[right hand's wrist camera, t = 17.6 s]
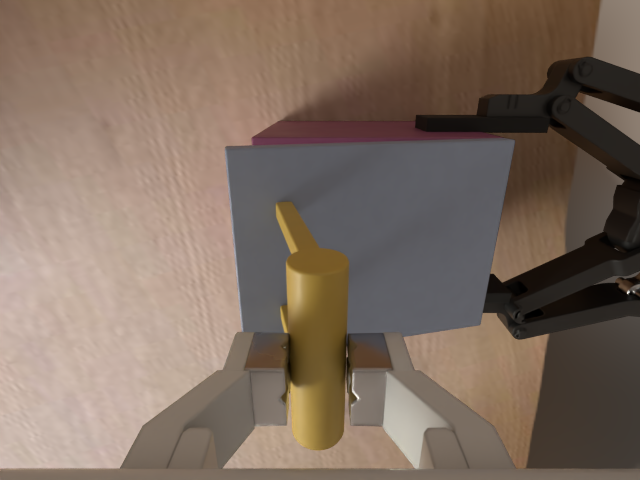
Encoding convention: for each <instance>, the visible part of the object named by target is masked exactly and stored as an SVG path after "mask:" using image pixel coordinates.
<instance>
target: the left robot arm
mask: <svg viewBox="0 0 640 480" xmlns="http://www.w3.org/2000/svg"><path fill="white" fill-rule="evenodd" d="M547 78H548V79H547V81H546V83H545V85H544V86H543V88H542V89H541V90H540V91H538V92H537V93H534V94H530V95H486V96H484V97H481V98H479V103H478V110H477V115H416V122H415V128H417V129H420V130H423V131H425V132H483V133H547V130H548V126H549V127H551V128H552V129H554V130H555V131H556V132H558V133H559V134H561V135H562V136H564V137H565V138H567V139H568V140H570V141H571V142H572V143H574V144H575V145H577V146H578V147H580V148H581V149H583V150H584V151H586V152H587V153H588V154H590V155H592V156H593V157H594V158H596V159H597V160H599V161H600V162H602V163H603V164H604V165H606V166H607V167H606V168H607V169H608V170H610V171H611V172H613V173H614V174H616V175H617V176H619V177H620V178H621V179H623V180H624V182H623V184H622V185H617V187H616V190H615V194H614V198H613V210H612V212H611V213H610V215H609V217H608V218H607V220H606V223H605V226H604V230H603V231H604V232H602V233H600V234H598V235H595V236H593V237H591V238H589V239H587V240H586V241H585V245H584V246H582V247H580V248H578V249H576V250H573V251H571V252H569V253H567V254H565V255H562V256H560V257H558V258H556V259H554V260H551V261H549V262H547V263H545V264H543V265H540V266H538V267H536V268H534V269H532V270H529V271H527V272H525V273H523V274H521V275H518V276H516V277H514V278H512V279H510V280H507V281H505V282H503V283H502V282H501V281H500V280H499V279H498V278H497V277H496V276H495V275H494V274H490V276H489V282H488V287H487V292H486V297H485V303H484V308H483V313H497V316H498V318H499V319H500V320H501V321H502V323H503V324H504V325H505V327H506V328H507V329H508V331H509V332H510V333H511V334H512V336H513V337H514V338H515V339H526V338H530V337H535V336H539V335H544V334H549V333H553V332H557V331H562V330H567V329H571V328H576V327H580V326H585V325H590V324H594V323H599V322H603V321H608V320H612V319H617V318H621V317H626V316H637V317H640V273H639V274H638V275H636V276H635V277H632V278H627V279H624V278H622V277H619V278H617V279H616V281H615V283H602V284H597V285H594V284H596V283H598V282H600V281H603V280H605V279H607V278H610V277H612V276H628V275H631V274H634V273H636V272H638V271H640V145H639V144H637V143H636V142H635V141H633V140H632V139H630V138H629V137H628V136H626V135H625V134H624V133H622V132H621V131H619V130H618V129H617V128H615V127H614V126H612V125H611V124H610V123H608V122H607V121H605V120H604V119H603V118H601V117H600V116H598V115H597V114H596V113H594V112H593V111H591V110H590V109H589V108H587V107H586V106H584V105H583V104H582V103H580V102H579V101H577V100H576V99H575V98H576V96H577V94H578V93H579V92H580V93H583V94H586V95H589V96H592V97H595V98H598V99H601V100H604V101H607V102H610V103H613V104H616V105H619V106H622V107H625V108H628V109H631V110H634V111H637V112H640V74H638V73H636V72H633V71H630V70H627V69H624V68H621V67H618V66H615V65H613V64H610V63H607V62H604V61H601V60H598V59H595V58H592V57H582V58H575V59H568V60H561V61H557V62H554V63H553V64H552V65H551V66H550V67H549V69H548V72H547ZM614 248H617V249H618V250H619V251H618V250H616V249H614ZM591 285H592V286H591Z"/></svg>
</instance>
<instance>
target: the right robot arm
mask: <svg viewBox="0 0 640 480" xmlns="http://www.w3.org/2000/svg"><path fill="white" fill-rule="evenodd" d="M347 351H348V357H347V358H346V380H347V392H348V393H349V414H350V424H351V425H352V426H383V429H384V430H385V431H386V433H387V434H388V435H389V436H390V438H391V439H392V440H393V441H394V442H395V444H396V445H397V446H398V447H399V449H400V450H401V451H402V452H403V454H404V455H405V456H406V457H407V459H408V460H409V461H410V462H411V464H412V465H413V466H414V467H415V469H222V468H223V466H224V465H225V464H226V463H227V461H228V460H229V459H230V458H231V457H232V455H233V454H234V453H235V452H236V450H237V449H238V448H239V447H240V446H241V444H242V443H243V442H244V441H245V439H246V438H247V437H248V436H249V435H250V433H251V432H252V431H253V430H254V426H284V425H287V419H288V409H289V393H290V389H291V364H290V358H289V357H290V335H289V333H275V332H238V333H237V334H236V335H235V337H234V340H233V342H232V345H231V348H230V351H229V354H228V357H227V359H226V362H225V365H224V368H223V370H219V371H216V372H215V373H213V374H212V375H211V376H209V377H208V378H207V379H205V380H204V381H203V382H201V383H200V384H199V385H197V386H196V387H194V388H193V389H192V390H190V391H189V392H188V393H186V394H185V395H184V396H182V397H181V398H180V399H178V400H177V401H176V402H174V403H173V404H172V405H170V406H169V407H168V408H166V409H165V410H163V411H162V412H161V413H159V414H158V415H157V416H155V417H154V418H153V419H151V420H150V421H149V422H147V423H146V424H145V425H143V426H142V428H141V430H140V432H139V434H138V436H137V438H136V439H135V441H134V443H133V445H132V447H131V449H130V451H129V452H128V454H127V456H126V458H125V460H124V462H123V464H122V465H121V467H120V469H0V480H640V469H516V467H515V465H514V463H513V461H512V460H511V458H510V456H509V454H508V452H507V450H506V448H505V446H504V444H503V442H502V440H501V438H500V437H499V435H498V433H497V431H496V429H495V427H494V426H493V425H492V424H490V423H489V422H488V421H486V420H485V419H484V418H482V417H481V416H480V415H478V414H477V413H476V412H474V411H473V410H472V409H470V408H469V407H468V406H466V405H465V404H464V403H462V402H461V401H460V400H458V399H457V398H456V397H454V396H453V395H452V394H450V393H449V392H448V391H446V390H445V389H444V388H442V387H441V386H440V385H438V384H437V383H436V382H434V381H433V380H432V379H430V378H429V377H428V376H426V375H425V374H424V373H422V372H421V371H419V370H414V367H413V364H412V362H411V359H410V356H409V353H408V350H407V347H406V344H405V341H404V339H403V336H402V333H400V332H383V333H348V335H347Z"/></svg>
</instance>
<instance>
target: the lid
mask: <svg viewBox="0 0 640 480" xmlns="http://www.w3.org/2000/svg"><path fill="white" fill-rule="evenodd" d="M514 145H515V140H513V139H507V138H483V139H450V140H417V141H384V142H351V143H318V144H285V145H252V146H226V147H225V157H226V168H227V178H228V189H229V200H230V210H231V221H232V232H233V242H234V253H235V264H236V274H237V285H238V296H239V306H240V317H241V328H242V332H275V333H289V335H290V357H289V358H290V364H291V412H292V432H293V435H294V437H295V439H296V440H297V441H298V442H299V443H300V444H301V445H302V446H304V447H305V448H308V449H311V450H325V449H328V448H331V447H332V446H334V445H335V444H336V443H337V442H338V441H339V440H340V439H341V437H342V435H343V432H344V412H345V381H346V350H347V335H348V333H383V332H400V333H402V336H403V337H406V336H412V335H419V334H425V333H432V332H438V331H445V330H451V329H458V328H464V327H471V326H477V325H480V324H481V318H482V313H483V308H484V303H485V297H486V292H487V287H488V282H489V276H490V271H491V266H492V261H493V255H494V250H495V245H496V240H497V234H498V229H499V224H500V219H501V213H502V208H503V203H504V198H505V192H506V187H507V182H508V177H509V171H510V166H511V161H512V156H513V150H514Z"/></svg>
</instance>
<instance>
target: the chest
mask: <svg viewBox="0 0 640 480" xmlns="http://www.w3.org/2000/svg"><path fill="white" fill-rule="evenodd" d="M415 122H416V121H278V122H277V123H275V124H273V125H272V126H270V127H268V128H267V129H265V130H264V131H262V132H260V133H259V134H257V135H255V136H254V137H252V145H285V144H318V143H351V142H384V141H417V140H450V139H483V138H503V137H500V136H495V135H491V134H487V133H483V132H425V131H423V130H420V129H417V128H415Z"/></svg>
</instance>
